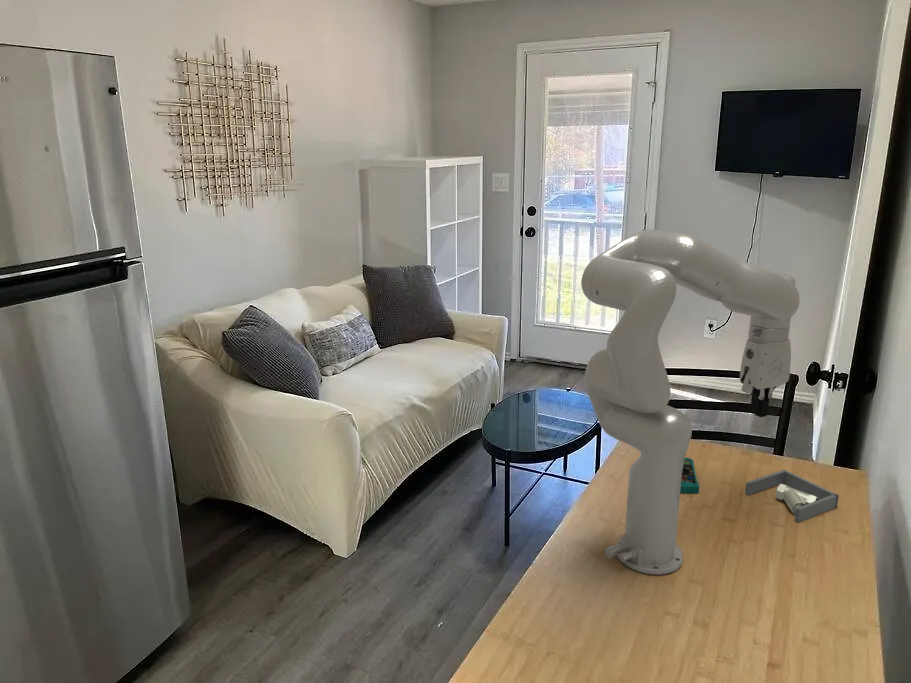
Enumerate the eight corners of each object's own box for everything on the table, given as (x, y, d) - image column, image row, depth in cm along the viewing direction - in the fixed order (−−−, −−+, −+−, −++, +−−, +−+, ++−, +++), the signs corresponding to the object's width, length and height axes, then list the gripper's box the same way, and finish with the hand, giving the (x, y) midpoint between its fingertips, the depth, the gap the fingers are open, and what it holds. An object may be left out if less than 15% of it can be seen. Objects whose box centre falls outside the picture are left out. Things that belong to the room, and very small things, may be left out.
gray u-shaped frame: (797, 522, 140) (799, 509, 139) (744, 493, 152) (746, 482, 151) (836, 507, 145) (838, 495, 144) (782, 481, 157) (784, 469, 156)
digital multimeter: (665, 493, 153) (666, 482, 152) (661, 464, 167) (662, 453, 166) (699, 497, 152) (700, 485, 151) (692, 467, 165) (693, 456, 164)
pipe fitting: (804, 522, 141) (818, 509, 145) (806, 506, 140) (820, 494, 144) (767, 507, 147) (782, 495, 151) (769, 492, 146) (783, 480, 150)
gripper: (757, 342, 131) (747, 427, 136) (809, 332, 137) (797, 414, 142) (728, 333, 137) (719, 414, 142) (778, 324, 143) (768, 402, 148)
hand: (758, 414), depth 142 cm, fingers closed
